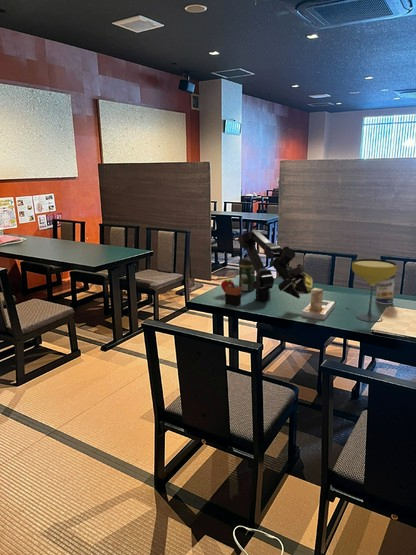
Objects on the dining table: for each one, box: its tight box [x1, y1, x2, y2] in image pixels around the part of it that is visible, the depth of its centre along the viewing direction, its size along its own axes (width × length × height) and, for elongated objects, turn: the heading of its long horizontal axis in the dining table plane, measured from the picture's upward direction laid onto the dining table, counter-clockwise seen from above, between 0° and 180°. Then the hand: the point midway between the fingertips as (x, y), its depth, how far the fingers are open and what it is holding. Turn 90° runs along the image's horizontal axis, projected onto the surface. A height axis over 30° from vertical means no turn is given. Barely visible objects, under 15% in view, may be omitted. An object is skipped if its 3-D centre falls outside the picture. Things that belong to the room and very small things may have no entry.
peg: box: [310, 287, 324, 312], centre depth 184 cm, size 4×4×12 cm
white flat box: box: [301, 299, 336, 321], centre depth 190 cm, size 10×21×3 cm, turn 151°
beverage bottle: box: [374, 274, 396, 305], centre depth 201 cm, size 8×8×20 cm
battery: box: [224, 284, 242, 307], centre depth 200 cm, size 4×7×10 cm, turn 59°
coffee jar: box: [238, 256, 256, 293], centre depth 225 cm, size 10×8×19 cm
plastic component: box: [294, 272, 313, 293], centre depth 231 cm, size 20×7×10 cm
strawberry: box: [220, 278, 235, 293], centre depth 216 cm, size 6×8×10 cm
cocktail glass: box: [351, 258, 398, 323], centre depth 178 cm, size 18×18×25 cm
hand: (303, 295), depth 187 cm, fingers open, 9 cm apart
